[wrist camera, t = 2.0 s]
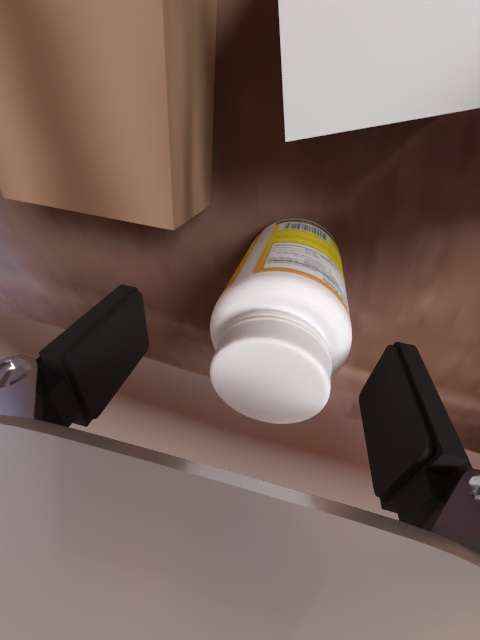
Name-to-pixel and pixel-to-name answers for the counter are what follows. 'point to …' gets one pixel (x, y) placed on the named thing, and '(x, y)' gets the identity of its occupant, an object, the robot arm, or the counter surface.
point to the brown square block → (109, 106)
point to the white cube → (376, 62)
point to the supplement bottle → (282, 325)
